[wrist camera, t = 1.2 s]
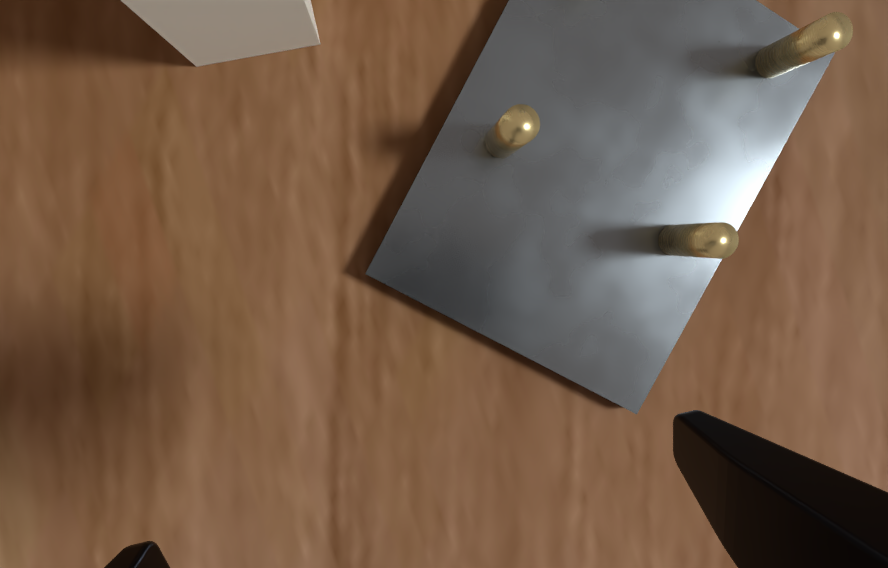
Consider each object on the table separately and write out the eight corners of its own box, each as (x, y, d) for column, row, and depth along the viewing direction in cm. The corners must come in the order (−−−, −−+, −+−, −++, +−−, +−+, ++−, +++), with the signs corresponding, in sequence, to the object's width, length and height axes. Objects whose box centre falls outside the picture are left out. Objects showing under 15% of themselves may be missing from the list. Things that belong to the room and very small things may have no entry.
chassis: (627, 407, 21) (677, 443, 18) (366, 272, 20) (360, 280, 16) (818, 59, 21) (911, 20, 17) (565, -107, 19) (606, -189, 16)
